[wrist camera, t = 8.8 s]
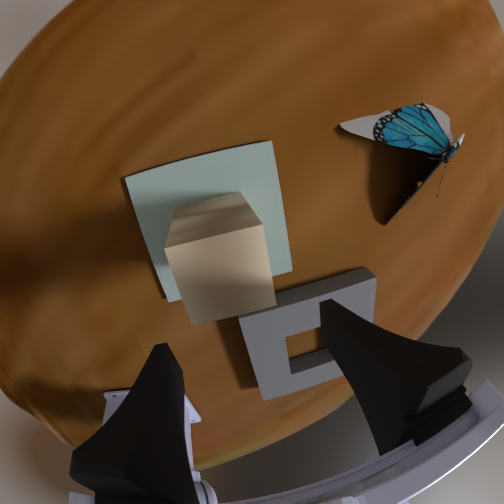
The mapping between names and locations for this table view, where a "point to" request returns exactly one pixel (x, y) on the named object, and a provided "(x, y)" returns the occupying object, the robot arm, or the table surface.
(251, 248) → the maple block
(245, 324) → the pocket holder
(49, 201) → the table surface
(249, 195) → the rubber mat
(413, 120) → the decorative butterfly
